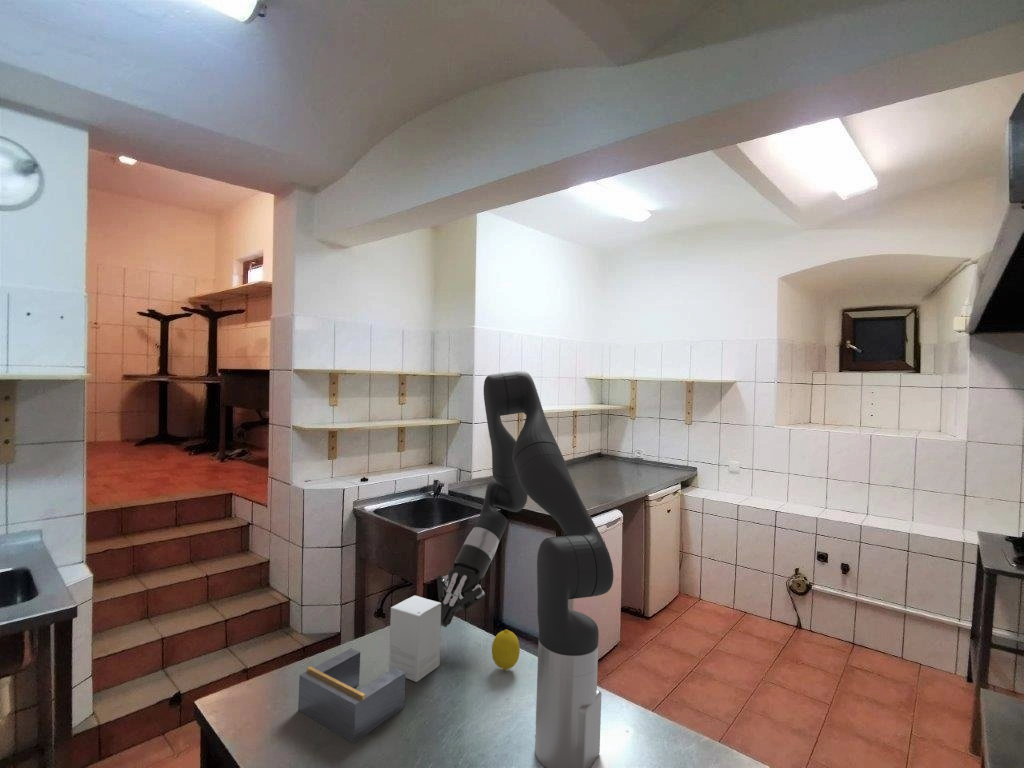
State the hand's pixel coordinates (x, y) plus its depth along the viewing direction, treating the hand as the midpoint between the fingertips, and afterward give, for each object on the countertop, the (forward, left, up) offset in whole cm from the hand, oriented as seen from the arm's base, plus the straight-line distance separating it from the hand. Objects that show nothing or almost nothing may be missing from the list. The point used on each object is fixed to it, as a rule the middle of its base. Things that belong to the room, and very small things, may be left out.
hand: (441, 624), depth 106 cm
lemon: (-15, -2, -6) cm, 16 cm away
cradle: (0, +23, -6) cm, 23 cm away
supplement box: (0, +8, -6) cm, 10 cm away
